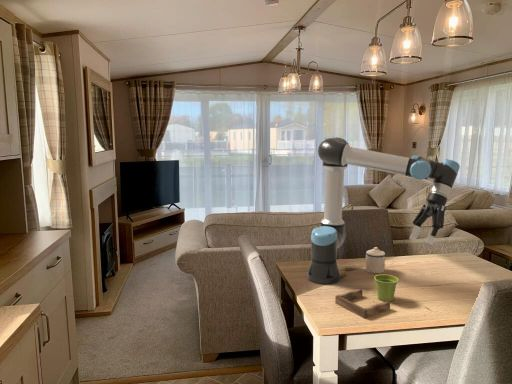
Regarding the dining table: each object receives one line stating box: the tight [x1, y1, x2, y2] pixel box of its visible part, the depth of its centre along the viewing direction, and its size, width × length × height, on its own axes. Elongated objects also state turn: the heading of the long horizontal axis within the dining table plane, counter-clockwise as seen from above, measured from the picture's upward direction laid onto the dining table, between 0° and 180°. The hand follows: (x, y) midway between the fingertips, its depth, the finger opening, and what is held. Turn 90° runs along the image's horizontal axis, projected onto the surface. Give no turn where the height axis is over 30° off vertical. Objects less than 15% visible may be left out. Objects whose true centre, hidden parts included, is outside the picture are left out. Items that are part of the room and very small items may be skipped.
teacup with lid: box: [365, 246, 386, 274], centre depth 195 cm, size 12×9×12 cm
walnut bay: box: [334, 288, 391, 319], centre depth 155 cm, size 14×15×3 cm
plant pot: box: [373, 273, 399, 302], centre depth 162 cm, size 9×9×9 cm
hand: (420, 241), depth 166 cm, fingers open, 13 cm apart
